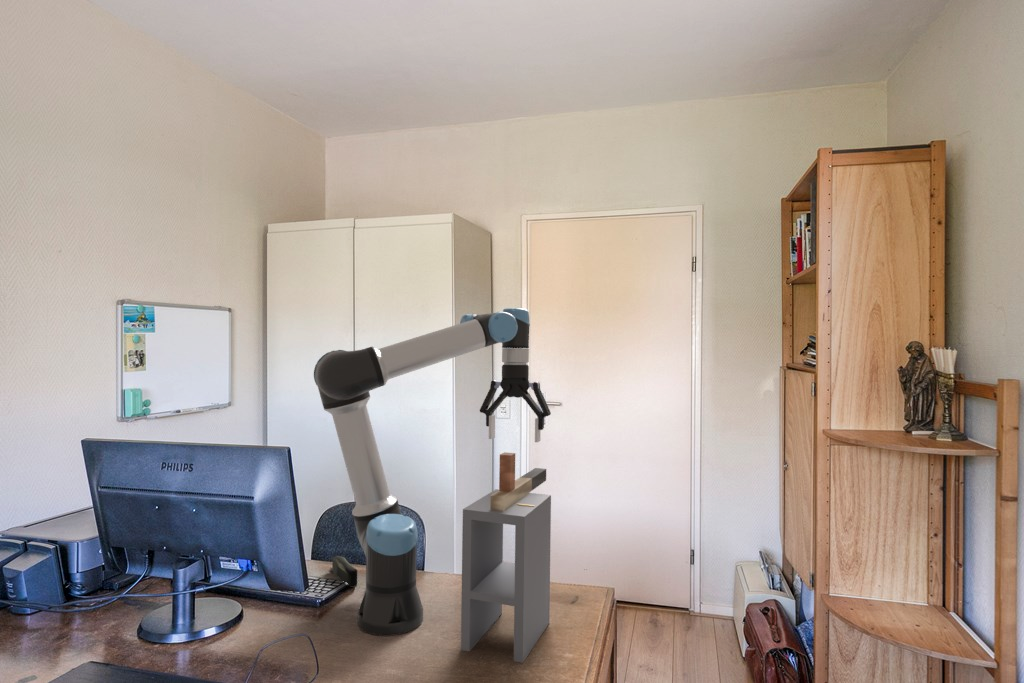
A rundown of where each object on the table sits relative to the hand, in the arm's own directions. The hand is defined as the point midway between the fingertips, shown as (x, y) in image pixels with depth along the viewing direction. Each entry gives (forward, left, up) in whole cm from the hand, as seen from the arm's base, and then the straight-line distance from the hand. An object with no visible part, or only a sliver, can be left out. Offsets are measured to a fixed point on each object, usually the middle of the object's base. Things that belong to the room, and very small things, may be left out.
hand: (514, 440), depth 165 cm
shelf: (+10, -30, -39) cm, 50 cm away
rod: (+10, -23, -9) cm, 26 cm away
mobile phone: (-44, -17, -39) cm, 61 cm away
